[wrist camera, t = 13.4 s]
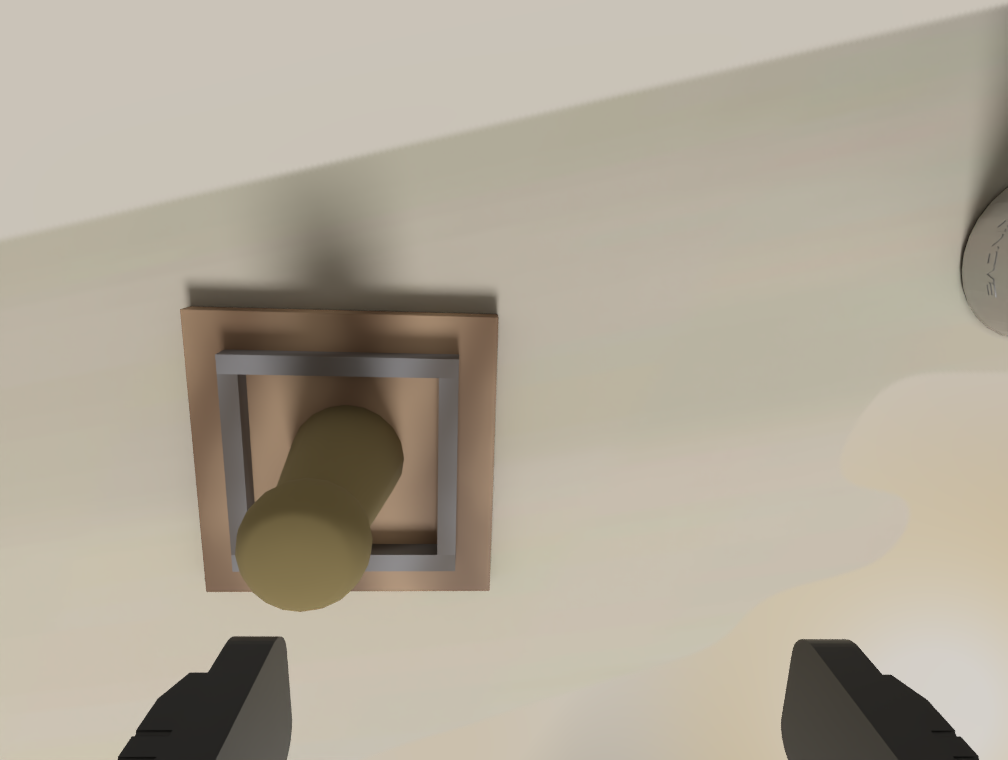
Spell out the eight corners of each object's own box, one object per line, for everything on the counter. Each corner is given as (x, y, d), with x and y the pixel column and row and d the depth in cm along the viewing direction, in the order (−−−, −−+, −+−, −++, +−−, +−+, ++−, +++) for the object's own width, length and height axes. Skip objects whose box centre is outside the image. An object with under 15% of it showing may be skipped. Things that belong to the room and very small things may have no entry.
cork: (278, 491, 34) (193, 615, 23) (307, 390, 33) (231, 471, 22) (385, 522, 35) (351, 654, 24) (418, 424, 34) (396, 519, 23)
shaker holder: (497, 314, 34) (499, 321, 31) (488, 579, 37) (490, 602, 35) (190, 306, 32) (169, 312, 30) (214, 579, 36) (197, 604, 34)
